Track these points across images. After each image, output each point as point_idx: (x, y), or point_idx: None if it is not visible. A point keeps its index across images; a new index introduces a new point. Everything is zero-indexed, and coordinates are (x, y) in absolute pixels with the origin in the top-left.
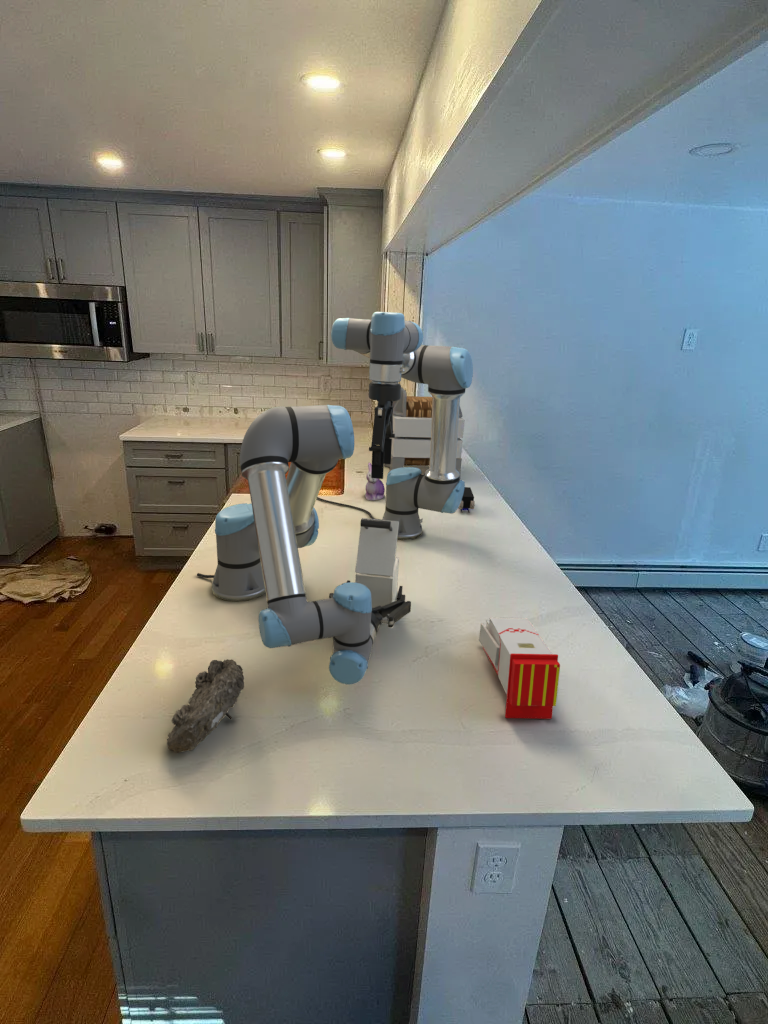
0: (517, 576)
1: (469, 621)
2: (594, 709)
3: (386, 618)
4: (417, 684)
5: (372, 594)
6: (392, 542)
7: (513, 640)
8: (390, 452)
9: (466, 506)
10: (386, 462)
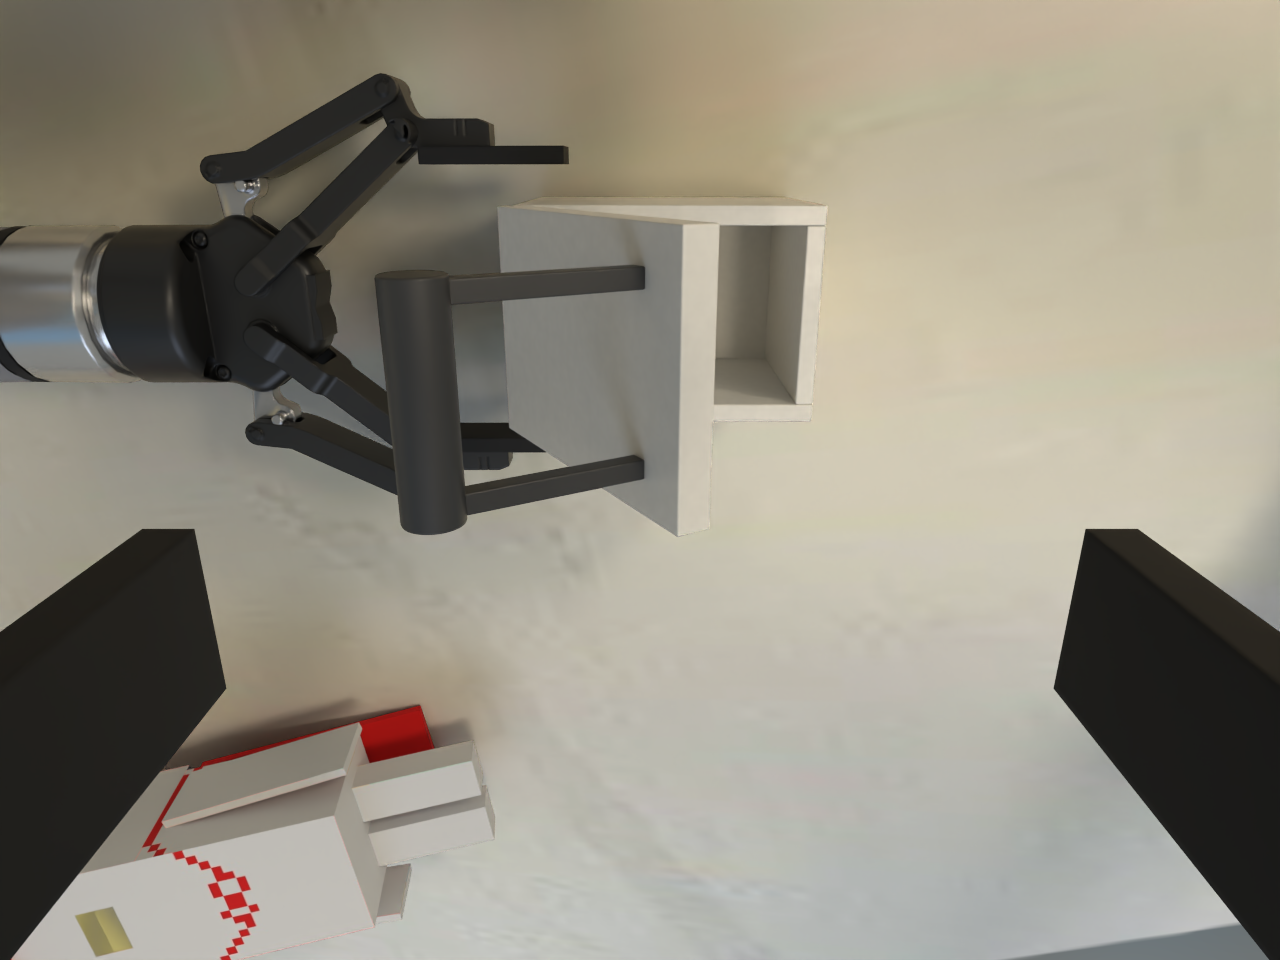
0: (1007, 834)
1: (593, 664)
2: None
3: (269, 409)
4: (132, 513)
5: None
6: (596, 459)
7: (134, 896)
8: (1171, 829)
9: None
10: (1075, 645)
